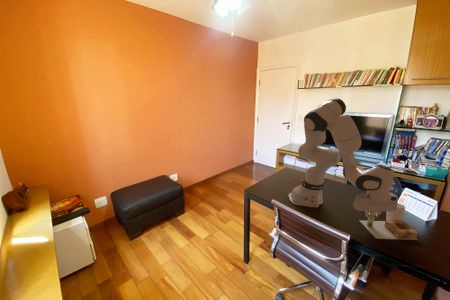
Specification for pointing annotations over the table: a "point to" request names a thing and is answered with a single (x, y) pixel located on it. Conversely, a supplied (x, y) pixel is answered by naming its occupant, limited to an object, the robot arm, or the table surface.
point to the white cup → (396, 213)
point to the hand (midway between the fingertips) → (371, 216)
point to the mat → (380, 230)
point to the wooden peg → (371, 218)
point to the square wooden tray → (401, 229)
